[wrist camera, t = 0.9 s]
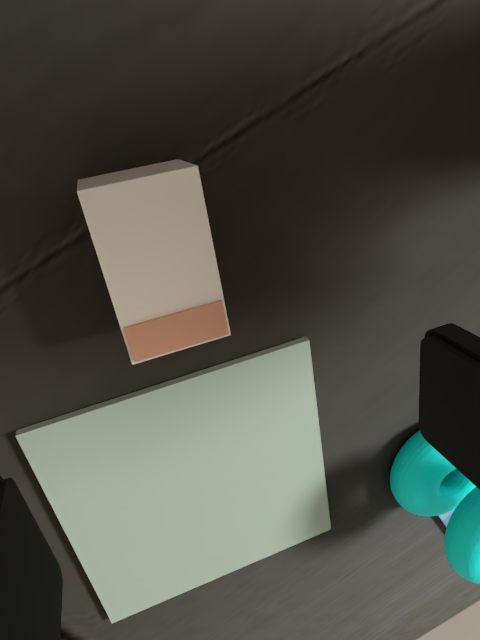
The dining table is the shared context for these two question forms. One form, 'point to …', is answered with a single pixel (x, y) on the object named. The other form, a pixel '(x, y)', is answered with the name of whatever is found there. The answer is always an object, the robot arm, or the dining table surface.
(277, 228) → the dining table surface
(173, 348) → the card deck
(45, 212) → the dining table surface
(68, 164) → the dining table surface
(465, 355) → the robot arm
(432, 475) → the donuts
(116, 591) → the mat
